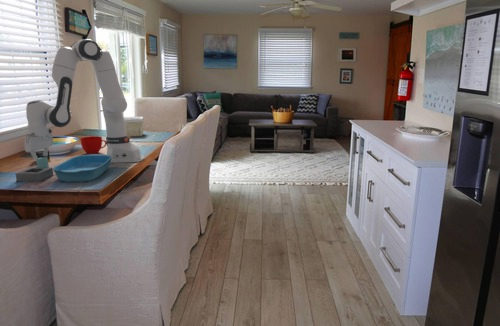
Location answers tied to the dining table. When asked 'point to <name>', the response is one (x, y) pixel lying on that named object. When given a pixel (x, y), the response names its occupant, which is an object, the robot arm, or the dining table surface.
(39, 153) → the medicine bottle
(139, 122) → the storage basket
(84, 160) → the casserole dish
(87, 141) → the ceramic cup
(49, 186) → the dining table surface
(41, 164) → the block
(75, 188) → the dining table surface
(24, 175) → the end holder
